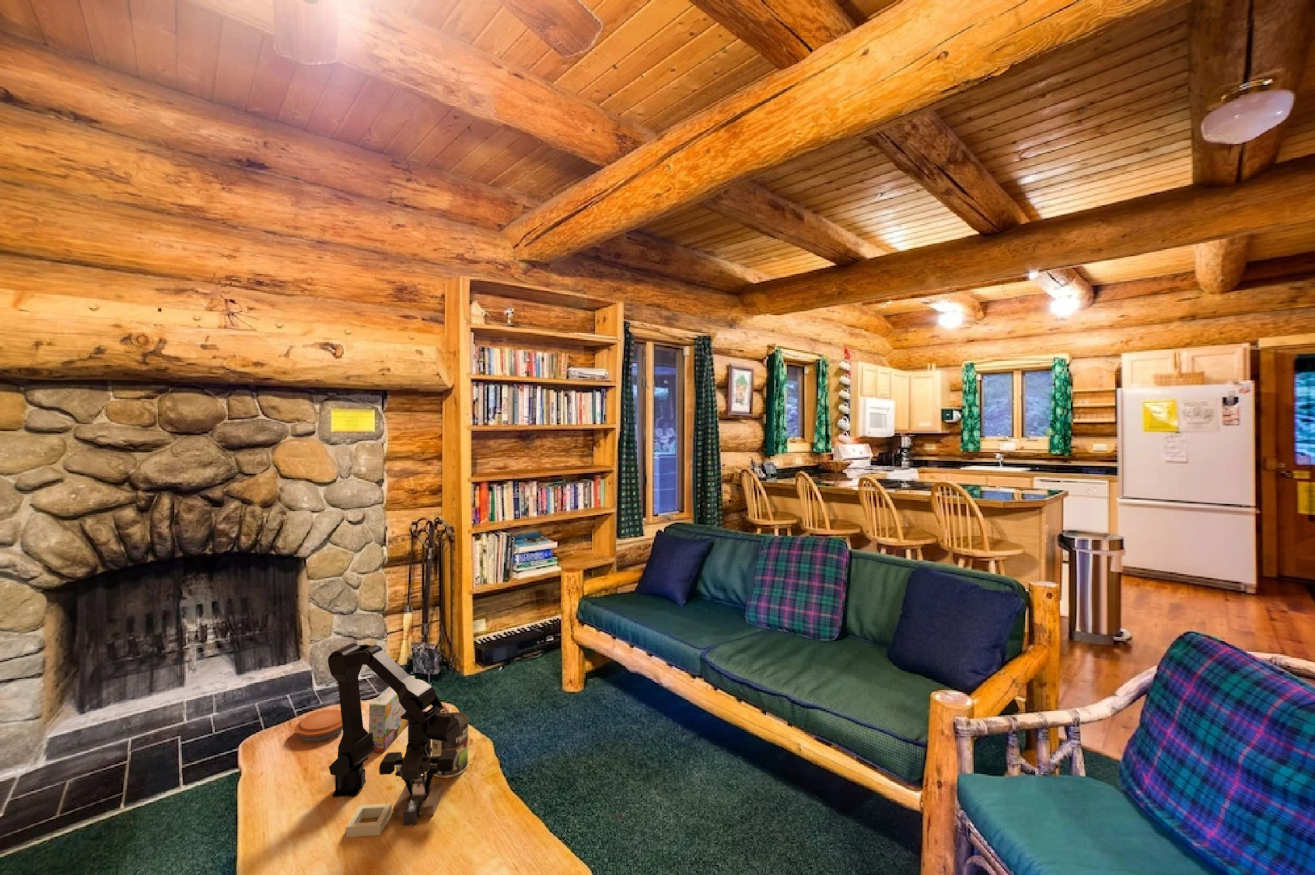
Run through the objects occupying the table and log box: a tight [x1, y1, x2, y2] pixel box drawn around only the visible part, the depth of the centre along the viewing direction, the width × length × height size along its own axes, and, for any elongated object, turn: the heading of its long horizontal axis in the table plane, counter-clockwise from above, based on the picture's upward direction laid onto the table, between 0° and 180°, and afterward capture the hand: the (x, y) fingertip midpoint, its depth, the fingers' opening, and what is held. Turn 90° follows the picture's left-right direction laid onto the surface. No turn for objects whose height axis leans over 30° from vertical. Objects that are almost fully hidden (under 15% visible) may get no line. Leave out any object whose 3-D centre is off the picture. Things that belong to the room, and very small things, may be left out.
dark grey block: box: [402, 798, 421, 826], centre depth 147 cm, size 3×5×4 cm, turn 6°
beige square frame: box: [345, 803, 393, 838], centre depth 144 cm, size 8×8×2 cm
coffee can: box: [431, 711, 470, 779], centre depth 168 cm, size 10×10×14 cm
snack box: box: [368, 675, 416, 753], centre depth 186 cm, size 21×6×15 cm, turn 179°
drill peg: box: [412, 772, 427, 805], centre depth 152 cm, size 4×4×8 cm
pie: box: [294, 708, 343, 743], centre depth 186 cm, size 15×16×5 cm
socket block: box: [392, 781, 445, 819], centre depth 152 cm, size 10×10×2 cm
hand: (419, 793), depth 152 cm, fingers closed on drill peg, 4 cm apart
